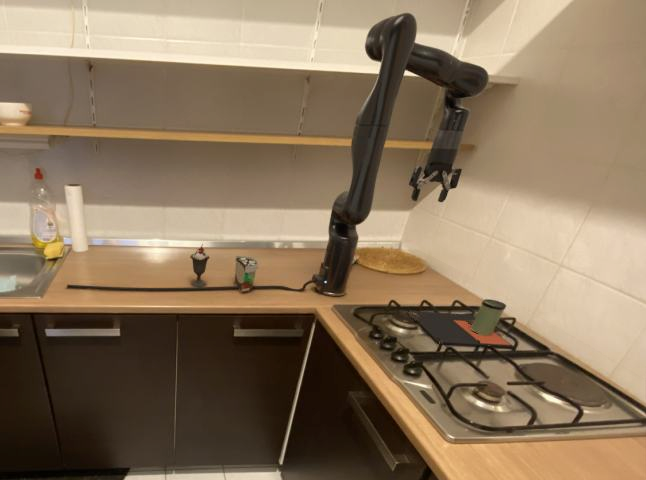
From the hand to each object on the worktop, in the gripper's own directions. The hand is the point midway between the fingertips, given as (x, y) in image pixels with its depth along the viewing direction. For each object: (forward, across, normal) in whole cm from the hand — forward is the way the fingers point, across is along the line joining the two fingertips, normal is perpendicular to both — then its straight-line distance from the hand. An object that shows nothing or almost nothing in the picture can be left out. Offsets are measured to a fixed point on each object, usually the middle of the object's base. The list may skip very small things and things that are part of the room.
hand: (427, 201), depth 128 cm
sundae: (+30, +75, +10) cm, 82 cm away
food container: (+30, +58, +11) cm, 66 cm away
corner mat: (+30, -2, +35) cm, 46 cm away
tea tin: (+29, -8, +37) cm, 48 cm away
